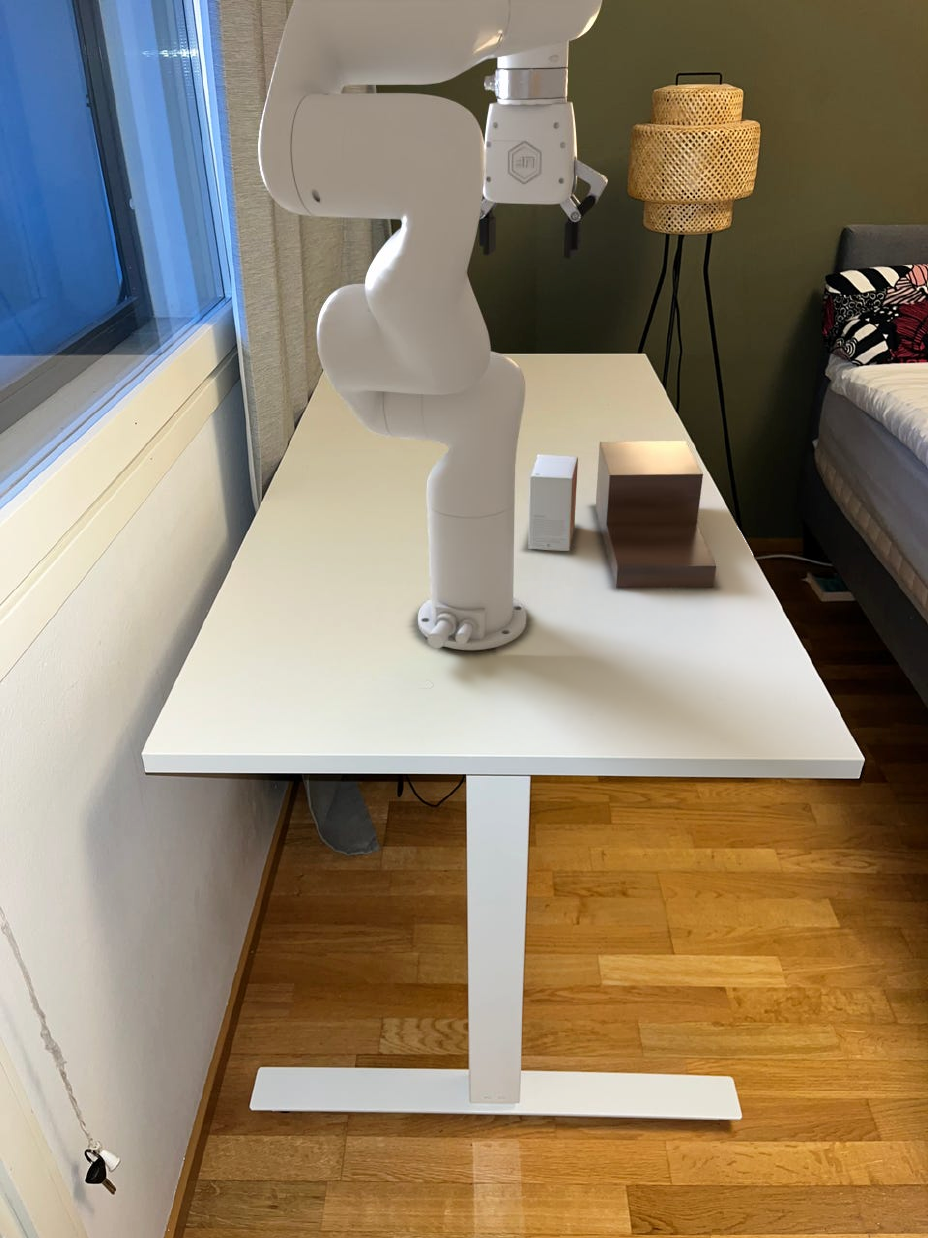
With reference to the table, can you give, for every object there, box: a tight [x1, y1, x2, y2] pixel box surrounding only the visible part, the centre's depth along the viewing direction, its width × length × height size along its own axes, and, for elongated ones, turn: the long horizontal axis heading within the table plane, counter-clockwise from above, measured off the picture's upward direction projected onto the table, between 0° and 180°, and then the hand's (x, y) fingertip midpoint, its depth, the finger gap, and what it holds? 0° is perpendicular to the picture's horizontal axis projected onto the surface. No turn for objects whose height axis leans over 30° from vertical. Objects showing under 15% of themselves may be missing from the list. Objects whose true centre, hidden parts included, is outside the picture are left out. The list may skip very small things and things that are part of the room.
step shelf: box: [595, 440, 717, 589], centre depth 125 cm, size 24×12×10 cm, turn 179°
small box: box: [528, 454, 579, 552], centre depth 126 cm, size 8×6×10 cm
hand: (529, 254), depth 111 cm, fingers open, 9 cm apart
